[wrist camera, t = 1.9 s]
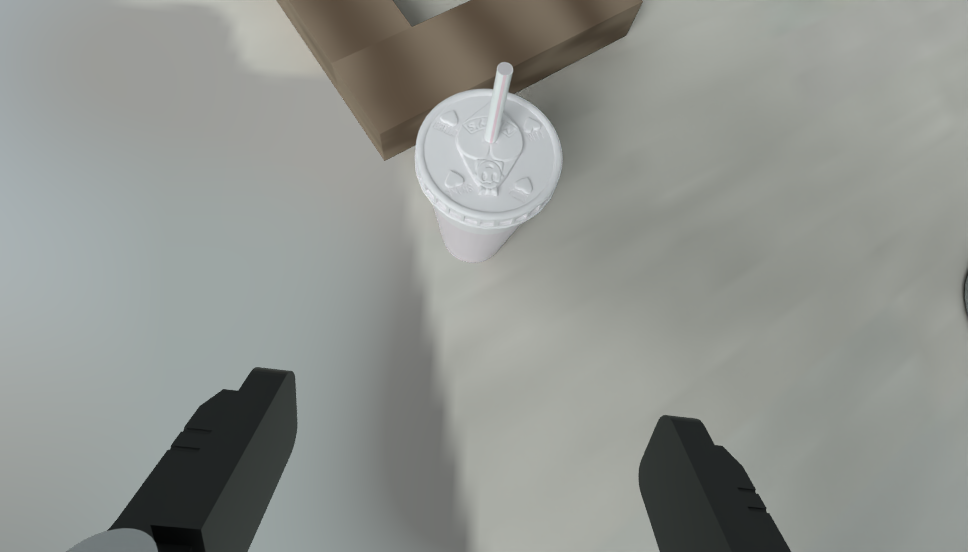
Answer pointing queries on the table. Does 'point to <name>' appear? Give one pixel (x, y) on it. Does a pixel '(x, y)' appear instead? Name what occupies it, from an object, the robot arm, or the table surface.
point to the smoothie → (486, 166)
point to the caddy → (445, 52)
